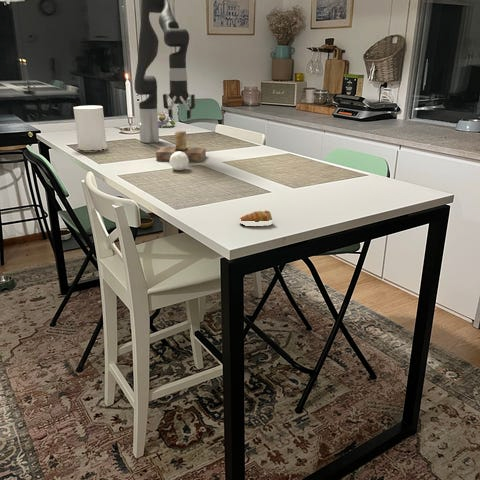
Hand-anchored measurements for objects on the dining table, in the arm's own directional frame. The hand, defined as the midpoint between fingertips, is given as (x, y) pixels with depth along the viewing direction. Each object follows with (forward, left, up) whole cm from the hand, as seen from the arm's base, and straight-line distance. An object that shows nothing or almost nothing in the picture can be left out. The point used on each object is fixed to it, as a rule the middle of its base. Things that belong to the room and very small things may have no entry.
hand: (179, 118), depth 215 cm
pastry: (+42, -82, -18) cm, 94 cm away
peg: (0, 0, -18) cm, 18 cm away
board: (0, 0, -18) cm, 18 cm away
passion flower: (-32, +90, -18) cm, 97 cm away
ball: (+4, -21, -18) cm, 28 cm away
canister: (-49, +17, -18) cm, 55 cm away
